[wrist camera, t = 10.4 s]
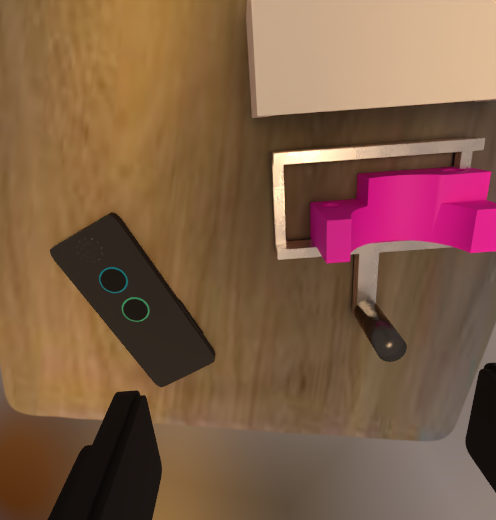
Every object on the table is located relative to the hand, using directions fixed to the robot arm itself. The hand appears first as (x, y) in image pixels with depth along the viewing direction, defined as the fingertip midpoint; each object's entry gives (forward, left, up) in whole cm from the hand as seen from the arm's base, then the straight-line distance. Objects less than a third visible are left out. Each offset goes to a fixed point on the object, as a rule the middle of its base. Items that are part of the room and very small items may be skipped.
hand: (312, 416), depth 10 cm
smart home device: (+10, -14, -29) cm, 33 cm away
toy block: (+1, +13, -28) cm, 31 cm away
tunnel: (-12, +11, -28) cm, 32 cm away
